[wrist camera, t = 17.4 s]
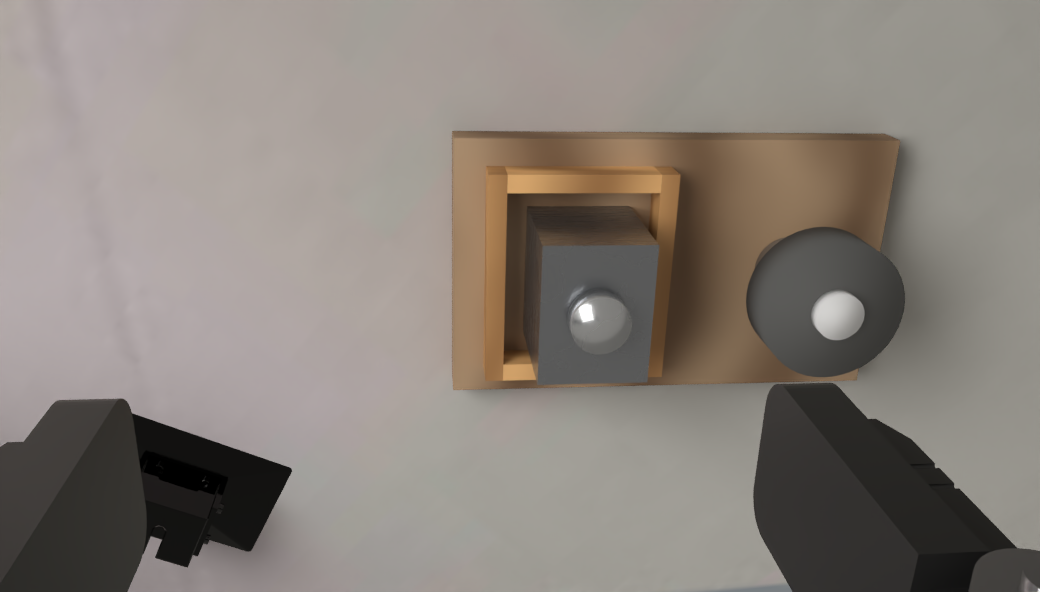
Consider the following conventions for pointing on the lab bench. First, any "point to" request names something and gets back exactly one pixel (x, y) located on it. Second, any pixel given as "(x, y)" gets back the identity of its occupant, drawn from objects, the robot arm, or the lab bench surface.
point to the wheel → (825, 301)
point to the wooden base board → (654, 235)
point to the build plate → (202, 491)
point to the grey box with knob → (588, 294)
